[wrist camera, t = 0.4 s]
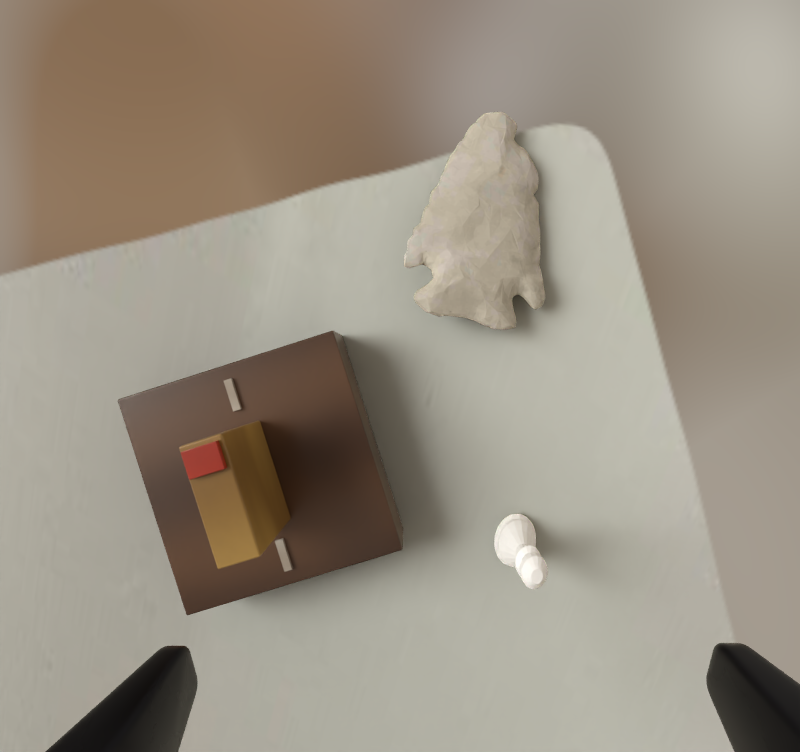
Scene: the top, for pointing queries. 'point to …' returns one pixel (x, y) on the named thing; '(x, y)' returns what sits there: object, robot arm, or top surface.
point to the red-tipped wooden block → (236, 492)
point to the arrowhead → (481, 229)
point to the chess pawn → (520, 549)
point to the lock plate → (293, 460)
